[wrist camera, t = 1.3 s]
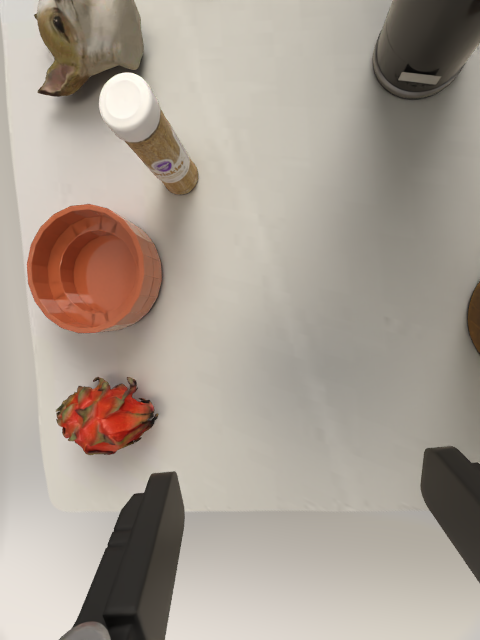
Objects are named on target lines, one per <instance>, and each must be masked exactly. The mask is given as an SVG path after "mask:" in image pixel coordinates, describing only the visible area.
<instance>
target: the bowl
mask: <svg viewBox="0 0 480 640" xmlns="http://www.w3.org/2000/svg"><path fill="white" fill-rule="evenodd" d="M27 273H28V284H29V287H30V290H31V292H32V295H33V298H34V301H35V302H36V304H37V305H38V306H39V308H40V309H41V310H42V312H43V313H44V315H45V316H46V317H47V318H48V319H50V320H51V321H53V322H54V323H55V324H57V325H58V326H59V327H61V328H63V329H67V330H70V331H73V332H76V333H97V332H105V331H114V330H120V329H123V328H126V327H128V326H131V325H133V324H135V323H137V322H138V321H139V320H140V319H141V318H142V317H144V316H145V315H146V314H147V313H148V312H149V310H150V309H151V307H152V305H153V304H154V302H155V300H156V299H157V297H158V293H159V289H160V285H161V281H162V274H161V260H160V258H159V255H158V252H157V250H156V247H155V245H154V243H153V242H152V241H151V239H150V238H149V237H148V235H147V234H146V233H145V232H144V231H143V230H142V229H141V228H139V227H137V226H136V225H134V224H133V223H131V222H130V221H128V220H126V219H125V218H123V217H121V216H120V215H118V214H116V213H114V212H113V211H111V210H109V209H107V208H103V207H99V206H95V205H91V204H85V205H76V206H70V207H68V208H66V209H64V210H61V211H59V212H57V213H55V214H54V215H53V216H51V217H50V218H49V219H48V220H47V221H46V222H45V223H44V224H43V225H42V226H41V227H40V229H39V231H38V232H37V234H36V236H35V238H34V240H33V242H32V244H31V247H30V252H29V257H28V261H27Z"/></svg>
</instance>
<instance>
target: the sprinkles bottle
mask: <svg viewBox="0 0 480 640" xmlns="http://www.w3.org/2000/svg"><path fill="white" fill-rule="evenodd" d="M99 110H100V114H101V116H102V119H103V120H104V122H105V123H106V124H107V125H108V127H109V128H110V129H111V130H112V131H113V132H114V133H115V135H116V136H118V137H119V138H120V139H122V140H124V141H125V142H126V143H127V144H128V145H129V146H130V148H131V149H132V150H133V151H134V152H135V153H136V154H137V155H138V157H139V158H140V159H141V160H142V161H143V163H144V164H145V165H146V166H147V167H148V168H149V169H150V171H151V172H152V173H153V174H154V175H155V176H156V177H157V178H158V179H159V180H161V181H162V183H163V184H164V185H165V186H166V188H167V189H168V190H169V191H170V192H172V193H174V194H180V195H181V194H186V193H188V192H190V191H191V190H192V189H193V188H194V186H195V185H196V182H197V180H198V171H197V167H196V166H195V164H194V163H193V162H192V161H191V159H190V157H189V155H188V153H187V151H186V150H185V148H184V146H183V145H182V143H181V141H180V140H179V138H178V137H177V135H176V133H175V131H174V130H173V128H172V126H171V125H170V123H169V122H168V120H167V119H166V118H165V116H164V114H163V113H162V111H161V109H160V106H159V102H158V100H157V98H156V96H155V95H154V93H153V91H152V90H151V88H150V87H149V85H148V84H147V82H146V81H145V80H144V79H143V78H142V77H140V76H139V75H136V74H133V73H120V74H117V75H115V76H113V77H112V78H111V79H109V80H108V81H107V82H106V84H105V85H104V87H103V89H102V91H101V93H100V97H99Z"/></svg>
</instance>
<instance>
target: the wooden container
mask: <svg viewBox="0 0 480 640" xmlns="http://www.w3.org/2000/svg"><path fill="white" fill-rule="evenodd" d="M468 327H469V332H470V336H471V338H472V341H473V343H474V345H475V347H476V349H477V350H478V352H479V353H480V281H479V283H478V284H477V286H476V288H475V290H474V292H473V295H472V298H471V301H470V305H469V310H468Z"/></svg>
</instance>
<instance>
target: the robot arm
mask: <svg viewBox="0 0 480 640" xmlns="http://www.w3.org/2000/svg"><path fill="white" fill-rule="evenodd" d="M479 44H480V0H393V1H392V4H391V6H390V9H389V12H388V15H387V17H386V20H385V23H384V26H383V28H382V30H381V32H380V34H379V37H378V40H377V42H376V45H375V49H374V53H373V67H374V71H375V74H376V77H377V79H378V80H379V82H380V83H381V85H382V86H383V87H384V88H385V89H386V90H388V91H389V92H390V93H392V94H394V95H396V96H399V97H402V98H408V99H418V98H424V97H428V96H431V95H433V94H435V93H437V92H439V91H441V90H442V89H444V88H445V87H446V86H448V85H449V84H450V83H451V82H452V81H453V80H454V79H455V77H456V76H457V75H458V73H459V72H460V71H461V69H462V68H463V66H464V65H465V63H466V61H467V60H468V58H469V57H470V56H471V54H472V53H473V52H474V50H475V49H476V47H477V46H478V45H479ZM421 492H422V496H423V498H424V501H425V503H426V505H427V507H428V508H429V510H430V511H431V513H432V514H433V516H434V517H435V518H436V520H437V521H438V523H439V524H440V526H441V527H442V529H443V530H444V532H445V533H446V534H447V536H448V537H449V539H450V541H451V542H452V543H453V545H454V546H455V548H456V549H457V551H458V552H459V554H460V555H461V556H462V558H463V559H464V561H465V562H466V564H467V565H468V567H469V568H470V569H471V571H472V573H473V574H474V575H475V577H476V578H477V580H478V581H479V583H480V464H479V463H471V462H470V461H469V460H468V459H467V458H466V457H465V456H464V455H463V454H462V453H461V452H460V451H459V450H458V449H457V448H455V447H453V446H447V447H437V448H427V449H426V450H425V452H424V458H423V467H422V476H421ZM184 519H185V516H184V504H183V500H182V495H181V491H180V486H179V481H178V477H177V473H176V472H164V473H153V474H151V476H150V478H149V480H148V483H147V486H146V489H145V492H144V493H138V494H134V495H133V496H132V497H131V499H130V500H129V501H128V502H127V504H126V505H125V506H124V507H123V509H122V510H121V512H120V515H119V517H118V520H117V522H116V525H115V527H114V532H112V535H111V537H110V540H109V542H108V547H107V548H106V549H105V552H104V555H103V557H102V560H101V562H100V564H99V567H98V569H97V572H96V574H95V577H94V579H93V582H92V584H91V587H90V589H89V592H88V594H87V597H86V599H85V602H84V604H83V606H82V609H81V611H80V614H79V616H78V618H77V620H76V622H75V624H74V626H73V627H72V629H71V630H69V631H68V632H67V633H66V634H65V635H63V636H62V637H61V638H60V639H59V640H165V635H166V628H167V622H168V617H169V611H170V605H171V600H172V594H173V588H174V582H175V576H176V570H177V564H178V559H179V553H180V547H181V541H182V536H183V530H184Z"/></svg>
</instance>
